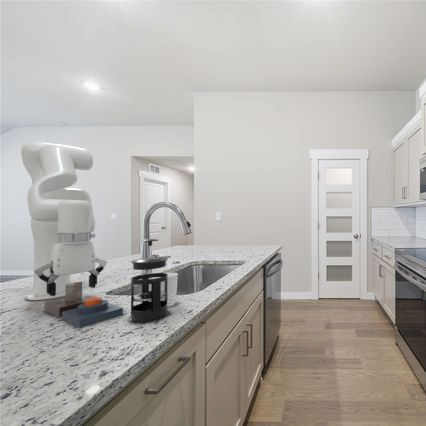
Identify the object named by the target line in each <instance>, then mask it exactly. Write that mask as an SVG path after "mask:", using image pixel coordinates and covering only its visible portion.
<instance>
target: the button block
mask: <svg viewBox="0 0 426 426" xmlns="http://www.w3.org/2000/svg"><path fill="white" fill-rule="evenodd" d="M123 315H124V307H122V306H119V305H116V304H113V303H110V302H109V301H108V300H107V299H102V300H101V304H98V305H94V306H85V303H83V304H80V305H79V306H78V308H76V309H72V310H68V311H64V312H62V317H61V320H63V321H64V322H67V323H69V324H71V325H73V326H75V327H77V328H78V329H81V328H84V327H87V326H91V325H94V324H97V323H100V322H101V323H102V322H104V321H107V320H111V319H114V318H117V317H118V318H119V317H122V316H123Z"/></svg>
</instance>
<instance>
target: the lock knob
mask: <svg viewBox="0 0 426 426" xmlns="http://www.w3.org/2000/svg"><path fill="white" fill-rule="evenodd" d="M82 294H83V281H77V282H70V284H66V285H65V296H64V297H65V301H67V302H69V301H76V300H80V299H82Z"/></svg>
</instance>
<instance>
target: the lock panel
mask: <svg viewBox="0 0 426 426" xmlns="http://www.w3.org/2000/svg"><path fill="white" fill-rule="evenodd" d="M95 297H97V296H96V295H94V294H90V293H88V292H82V299H80V300H76V301H69V302H67V301H65V296H63V297H58V298H53V299H48V300H44V312H47V313H49V314H51V315H53V316H54V317H57V318H58V319H59V318H61V319H62V312H64V311H68V310H72V309H76V308H78V306H79V305H80V304H83V303H85V300H86V299H89V298H95ZM101 300H103V299H102V297H101Z"/></svg>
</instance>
